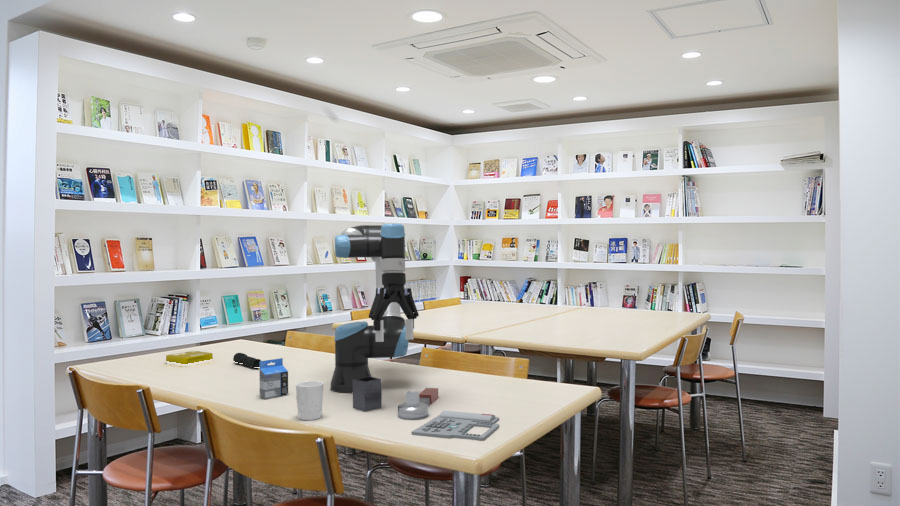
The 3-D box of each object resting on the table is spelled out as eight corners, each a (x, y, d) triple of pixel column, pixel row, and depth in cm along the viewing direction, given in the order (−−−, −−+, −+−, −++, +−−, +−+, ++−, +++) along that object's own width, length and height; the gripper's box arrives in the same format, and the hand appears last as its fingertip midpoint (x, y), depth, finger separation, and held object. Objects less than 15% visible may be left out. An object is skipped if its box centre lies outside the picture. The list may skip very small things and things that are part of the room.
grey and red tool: (423, 420, 184) (423, 396, 184) (393, 419, 186) (393, 395, 186) (445, 397, 212) (445, 376, 212) (419, 396, 214) (419, 375, 214)
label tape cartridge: (264, 399, 212) (264, 362, 212) (259, 397, 215) (258, 361, 215) (288, 395, 218) (288, 359, 218) (283, 393, 221) (282, 357, 221)
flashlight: (243, 363, 283) (243, 351, 283) (263, 369, 268) (263, 357, 268) (232, 364, 280) (232, 353, 280) (252, 371, 264) (252, 358, 264)
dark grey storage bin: (364, 411, 195) (364, 382, 195) (352, 408, 199) (352, 379, 199) (381, 407, 199) (381, 379, 199) (369, 404, 204) (369, 376, 204)
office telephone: (443, 407, 192) (508, 412, 184) (444, 416, 192) (508, 421, 184) (411, 426, 170) (482, 433, 163) (411, 436, 170) (482, 444, 163)
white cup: (298, 414, 193) (298, 381, 192) (325, 413, 193) (324, 380, 193) (294, 421, 185) (293, 387, 185) (322, 420, 185) (321, 386, 185)
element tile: (184, 368, 273) (184, 357, 273) (164, 365, 282) (163, 354, 282) (214, 362, 286) (214, 352, 286) (194, 359, 294) (193, 349, 294)
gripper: (373, 270, 189) (375, 342, 187) (428, 273, 209) (429, 338, 206) (356, 272, 194) (357, 342, 192) (411, 274, 213) (412, 338, 211)
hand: (395, 340), depth 199 cm, fingers open, 13 cm apart
